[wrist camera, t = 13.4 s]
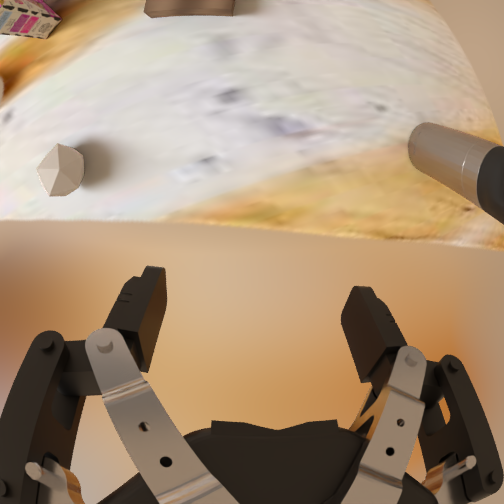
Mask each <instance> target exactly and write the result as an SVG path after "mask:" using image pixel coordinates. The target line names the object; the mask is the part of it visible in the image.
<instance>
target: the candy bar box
mask: <svg viewBox="0 0 504 504" xmlns="http://www.w3.org/2000/svg"><path fill="white" fill-rule="evenodd" d="M61 20H62V18H61V17H60V16H58V15H57V14H56V13H55V12H54V11H53V10H52V9H51V8H50V7H49V6H48V5H47V4H46V3H45V2H44V1H42V0H0V34H4V35H17V36H26V37H34V38H41V39H47V37H48V36H49V35H50V34H51V32H52V31H53V30H54V29H55V27H56V26H57V25H58V24H59V23H60V21H61Z"/></svg>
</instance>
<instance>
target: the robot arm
mask: <svg viewBox="0 0 504 504" xmlns="http://www.w3.org/2000/svg"><path fill="white" fill-rule="evenodd" d="M408 148H409V156H410V159H411V162H412V163H413V165H414V166H415V167H416V168H417V169H418V170H420V171H421V172H423V173H425V174H427V175H428V176H430V177H432V178H433V179H435V180H437V181H439V182H440V183H442V184H444V185H445V186H447V187H449V188H450V189H452V190H453V191H455V192H457V193H458V194H460V195H461V196H463V197H464V198H466V199H467V200H469V201H471V202H472V203H474V204H475V205H477V206H478V207H479V208H481V209H482V210H484V211H485V212H487V213H488V214H489V215H491V216H492V217H494V218H495V219H497V220H498V221H499V222H501V223H502V224H503V225H504V147H503V146H500V145H498V144H495V143H493V142H490V141H487V140H484V139H482V138H479V137H476V136H473V135H470V134H467V133H464V132H461V131H458V130H454V129H451V128H448V127H444V126H441V125H437V124H433V123H423V124H420V125H419V126H417V127H416V128H415V129H414V131H413V132H412V134H411V136H410V140H409V146H408ZM166 306H167V290H166V272H165V268H162V267H154V266H146V268H145V269H144V272H143V274H142V275H141V277H135V276H133V277H132V278H131V279H130V280H128V281H127V282H126V283H125V284H124V286H123V288H122V290H121V292H120V294H119V296H118V298H117V301H116V302H115V304H114V306H113V308H112V310H111V312H110V314H109V316H108V318H107V320H106V322H105V324H104V326H103V328H101V329H98V330H96V331H94V332H92V333H91V334H90V335H89V336H88V338H87V340H81V341H80V340H79V341H64V339H63V337H62V335H61V334H60V333H58V332H56V331H45V332H42V333H40V334H39V335H38V336H36V338H35V339H34V340H33V342H32V344H31V346H30V348H29V350H28V352H27V354H26V356H25V358H24V360H23V363H22V365H21V367H20V369H19V371H18V373H17V376H16V378H15V380H14V383H13V385H12V388H11V390H10V393H9V395H8V398H7V401H6V404H5V406H4V409H3V412H2V415H1V418H0V504H85V503H84V501H83V499H82V496H81V486H80V483H79V481H78V479H77V477H76V476H75V475H74V474H73V473H72V472H71V471H70V466H71V460H72V455H73V449H74V445H75V440H76V435H77V431H78V426H79V422H80V418H81V414H82V410H83V406H84V403H85V399H86V396H90V395H103V397H102V399H103V402H104V405H105V407H106V409H107V411H108V414H109V416H110V418H111V420H112V422H113V424H114V427H115V429H116V431H117V433H118V434H119V437H120V439H121V441H122V442H123V444H124V446H125V448H126V450H127V452H128V453H129V455H130V457H131V459H132V461H133V462H134V464H135V466H136V467H137V469H138V471H139V472H138V473H137V474H136V475H135V476H134V477H132V478H131V479H130V480H128V481H127V482H126V483H124V484H123V485H122V486H121V487H119V488H118V489H117V490H115V491H114V492H112V493H111V494H110V495H108V496H107V497H106V498H104V499H103V500H101V501H100V502H99V503H97V504H472V503H475V502H477V501H479V500H481V499H483V498H486V497H487V496H490V495H492V494H493V493H496V492H497V491H498V490H499V488H500V487H501V485H502V482H503V476H504V475H503V469H502V465H501V461H500V458H499V454H498V451H497V448H496V444H495V441H494V438H493V435H492V433H491V430H490V427H489V424H488V421H487V418H486V416H485V413H484V411H483V408H482V406H481V403H480V401H479V399H478V396H477V394H476V392H475V389H474V387H473V385H472V383H471V381H470V378H469V376H468V374H467V372H466V370H465V368H464V366H463V364H462V362H461V361H460V360H459V359H458V358H457V357H455V356H453V355H445V356H444V357H443V358H442V359H441V360H440V361H439V362H433V361H429V360H426V358H425V356H424V355H423V354H422V352H421V351H420V350H418V349H416V348H415V347H412V346H408V345H407V343H406V341H405V339H404V337H403V335H402V333H401V331H400V329H399V327H398V325H397V323H395V320H394V318H393V316H392V314H391V312H390V311H389V309H388V307H387V305H385V303H384V302H382V301H381V300H380V299H379V298H377V297H376V295H375V293H374V291H373V289H372V288H371V287H365V286H354V287H353V288H352V290H351V292H350V295H349V297H348V299H347V302H346V304H345V306H344V309H343V311H342V314H341V325H342V327H343V331H344V333H345V336H346V339H347V342H348V345H349V348H350V351H351V354H352V357H353V360H354V363H355V366H356V369H357V372H358V375H359V378H360V381H361V383H366V382H371V384H372V386H371V388H370V389H369V391H368V393H367V396H366V398H365V400H364V402H363V404H362V406H361V408H360V411H359V413H358V415H357V417H356V419H355V421H354V422H353V424H352V425H351V427H350V428H349V429H344V428H340V427H338V424H337V420H326V421H313V422H306V423H303V424H300V425H296V426H293V427H289V428H285V429H281V430H274V429H269V428H265V427H260V426H256V425H252V424H248V423H244V422H225V421H212V423H211V428H205V429H201V430H197V431H194V432H191V433H189V434H187V435H184V436H182V435H181V433H180V432H179V431H178V429H177V428H176V426H175V425H174V423H173V422H172V420H171V419H170V417H169V415H168V414H167V413H166V411H165V409H164V408H163V406H162V404H161V403H160V401H159V399H158V398H157V396H156V395H155V393H154V391H153V389H152V388H151V386H150V384H149V383H148V382H147V381H145V380H144V378H143V376H142V374H141V372H146V373H148V371H149V368H150V364H151V360H152V356H153V353H154V349H155V345H156V342H157V338H158V335H159V331H160V328H161V325H162V321H163V318H164V314H165V311H166ZM140 371H141V372H140ZM443 397H444V398H445V400H446V403H447V405H448V408H449V411H450V420H449V422H448V423H447V424H445V420H444V417H443V414H442V411H441V409H440V406H439V403H438V402H439V401H440V400H441V399H442V398H443ZM417 435H418V438H419V443H420V446H421V450H422V455H423V458H424V463H425V468H426V472H427V474H426V478H425V480H424V481H423V482H422V483H419V482H418V481H417V480H415V479H414V478H413V477H411V476H410V475H409V474H408V473H406V472H405V470H406V468H407V465H408V462H409V459H410V456H411V454H412V451H413V447H414V444H415V441H416V438H417Z"/></svg>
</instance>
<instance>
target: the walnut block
mask: <svg viewBox="0 0 504 504" xmlns="http://www.w3.org/2000/svg"><path fill="white" fill-rule="evenodd" d="M234 4H235V0H146V4H145V8H144V13H146V14H147V15H148V16H149V17H151V18H157V17H169V16H193V15H211V16H233V10H234Z"/></svg>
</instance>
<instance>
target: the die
mask: <svg viewBox="0 0 504 504" xmlns="http://www.w3.org/2000/svg"><path fill="white" fill-rule="evenodd" d="M36 170H37V173H38V176H39V179H40V182H41V185H42V187H43V188H44V190H45V191H46V192H47V194H48V195H49V196H66V195H68V194H70V193H71V192H73V191H74V190H76V189H77V188H78V187H79V185H80V183H81V180H82V178H83V176H84V173H85V172H84V158H83V155H82V154H80V153H79V152H78V151H76V150H75V149H74V148H71V147H68V146H64V145H61V144H58V143H57V144H56V146H55V147H54V148H53V149H52V150H51V151H50V152H49V153H48V154H47V155H46V156H45V158H44V159H43V160H42V161H41V163H40V164H39V166H38V167H37V168H36Z"/></svg>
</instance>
